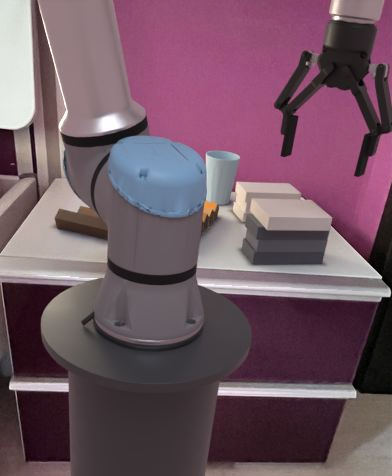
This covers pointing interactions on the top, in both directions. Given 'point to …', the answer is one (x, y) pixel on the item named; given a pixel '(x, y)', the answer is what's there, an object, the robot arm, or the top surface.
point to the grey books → (282, 244)
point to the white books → (260, 195)
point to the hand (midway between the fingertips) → (321, 165)
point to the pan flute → (95, 226)
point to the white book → (290, 214)
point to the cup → (220, 175)
